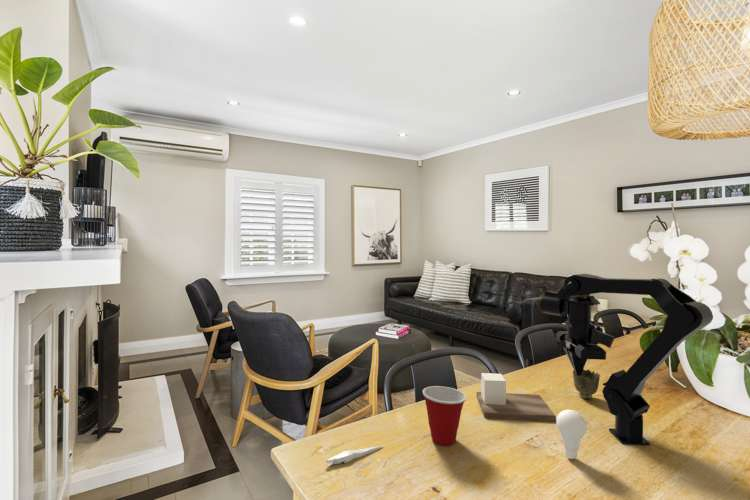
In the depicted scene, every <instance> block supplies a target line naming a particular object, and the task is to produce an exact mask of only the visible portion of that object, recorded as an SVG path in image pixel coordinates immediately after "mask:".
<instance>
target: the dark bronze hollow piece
mask: <svg viewBox="0 0 750 500" xmlns="http://www.w3.org/2000/svg"><path fill="white" fill-rule="evenodd" d="M572 377H573V385H574V388H575V390H576V391H578V392H579V394H578V395H579V397H580V398H581V399H584V400H591V399H593V395H595V394H596V393H597V392H598V389H599V385H600V384H599V383H600V377H601V375H600V373H598V372H596V373H595V371H591V370H590V369H586V370H585V369H583V371H582V374H581V375H576V373H575V371H574V370H572Z"/></svg>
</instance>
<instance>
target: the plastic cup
mask: <svg viewBox="0 0 750 500" xmlns="http://www.w3.org/2000/svg"><path fill="white" fill-rule="evenodd" d="M422 395H423V396H424V400H425V406H426V412H427V420H428V426H429V429H430V431H429V432H430V437H431V440H432V442H433V443H435V444H436V445H438V446H442V447H450V446H452V445H454V444H455V442H456V440H457V436H458V435H457V434H458V429H459V426H460V420H461V415H462V410H463V406H464V404H465V401H467V397H468V396H467V395H466V393H465V392H463V391H461V390H458V389H456V388H453V387H448V386H444V385H443V386H442V385H441V386H440V385H433V386H427V387H424V388H423V389H422Z"/></svg>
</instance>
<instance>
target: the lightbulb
mask: <svg viewBox="0 0 750 500" xmlns="http://www.w3.org/2000/svg"><path fill="white" fill-rule="evenodd" d="M555 422H556V427H557V429H558V431H559V433H560V435H561V437H562V445H563V447H564V448H563V449H564V451H563V452H564V455H565V457H567V458H568V459H569V460H574V459H577V458H578V452H579V451H578V450H579V449H580V443H581V440H582V439H583V438H584V436H585V435H586V433H587V429H588V426H587V422H586V419H585V418H584V417H583V415H581V413H580V412H578V411H576V410H573V409H564V410H562V411H560V412H559V413H558V414H557V416H556V421H555Z"/></svg>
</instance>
